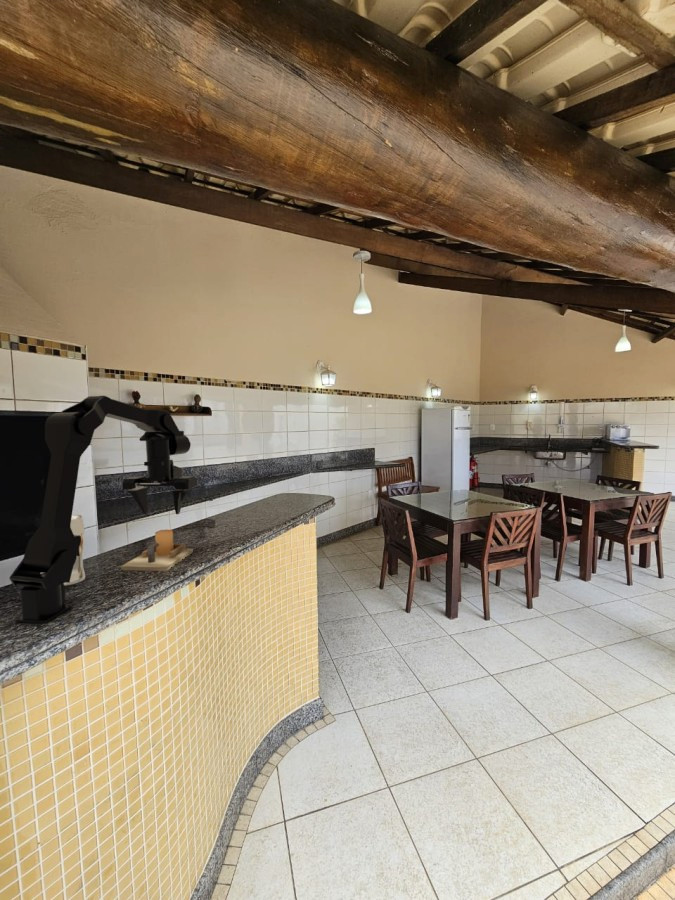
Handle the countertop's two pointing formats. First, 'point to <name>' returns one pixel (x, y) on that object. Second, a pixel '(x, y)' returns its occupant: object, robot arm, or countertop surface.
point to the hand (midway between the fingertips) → (161, 514)
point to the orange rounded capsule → (164, 542)
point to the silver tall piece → (78, 569)
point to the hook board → (157, 559)
